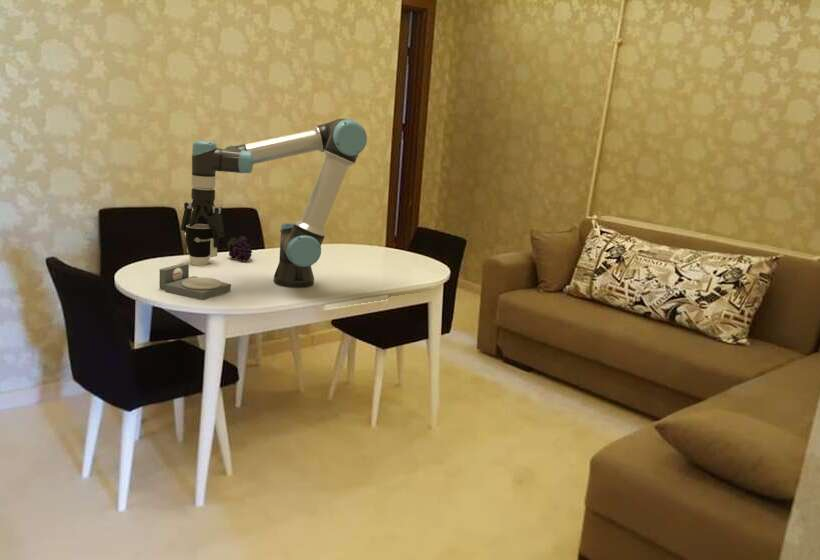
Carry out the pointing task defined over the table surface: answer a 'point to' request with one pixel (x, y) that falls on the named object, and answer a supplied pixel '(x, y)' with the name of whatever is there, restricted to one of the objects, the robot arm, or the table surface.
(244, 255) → the fruit
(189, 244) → the mug
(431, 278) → the table surface
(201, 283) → the scale
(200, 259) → the cup
